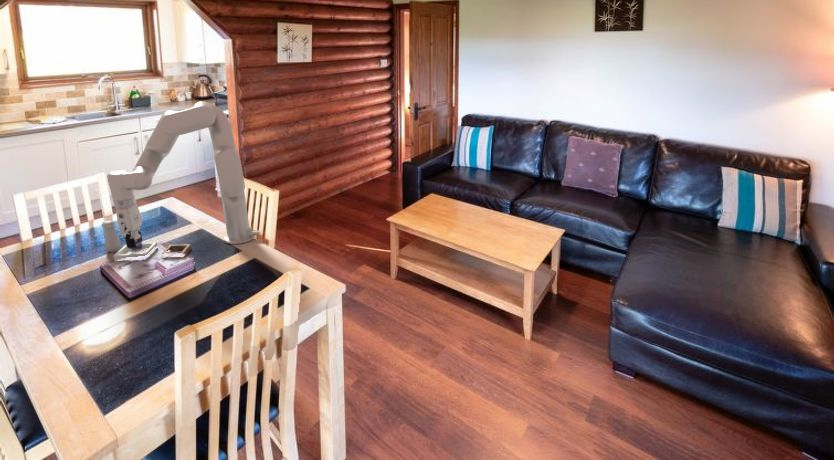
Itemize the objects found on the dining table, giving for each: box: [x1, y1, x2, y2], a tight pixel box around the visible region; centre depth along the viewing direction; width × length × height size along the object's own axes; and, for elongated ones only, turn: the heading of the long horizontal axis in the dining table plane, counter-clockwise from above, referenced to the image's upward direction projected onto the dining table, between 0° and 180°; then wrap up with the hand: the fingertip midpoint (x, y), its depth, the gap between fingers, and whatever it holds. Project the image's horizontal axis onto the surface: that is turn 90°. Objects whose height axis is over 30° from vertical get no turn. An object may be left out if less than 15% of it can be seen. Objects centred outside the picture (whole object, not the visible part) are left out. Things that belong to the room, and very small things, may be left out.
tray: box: [113, 241, 158, 261], centre depth 200 cm, size 12×12×3 cm
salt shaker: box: [101, 220, 123, 253], centre depth 202 cm, size 6×6×13 cm
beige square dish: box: [161, 243, 192, 255], centre depth 201 cm, size 8×8×2 cm
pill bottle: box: [126, 229, 143, 253], centre depth 198 cm, size 5×5×9 cm
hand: (134, 243), depth 199 cm, fingers closed on pill bottle, 5 cm apart
